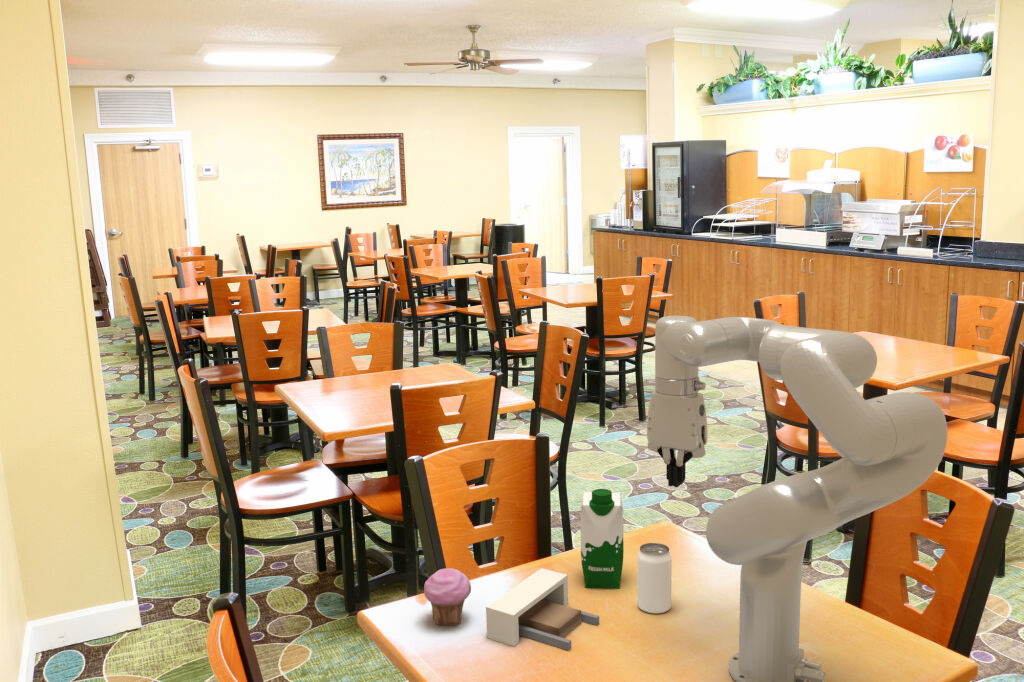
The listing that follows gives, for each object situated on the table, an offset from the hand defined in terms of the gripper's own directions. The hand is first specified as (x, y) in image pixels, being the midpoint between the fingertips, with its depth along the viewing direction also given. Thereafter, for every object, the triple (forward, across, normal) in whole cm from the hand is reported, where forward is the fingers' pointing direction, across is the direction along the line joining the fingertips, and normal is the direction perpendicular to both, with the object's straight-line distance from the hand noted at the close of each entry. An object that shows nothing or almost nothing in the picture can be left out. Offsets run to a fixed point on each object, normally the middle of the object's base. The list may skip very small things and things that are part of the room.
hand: (675, 484), depth 157 cm
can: (+27, +6, -4) cm, 28 cm away
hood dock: (+27, +20, +13) cm, 36 cm away
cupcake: (+27, +37, +21) cm, 51 cm away
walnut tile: (+28, +20, +13) cm, 37 cm away
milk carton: (+27, +20, -9) cm, 35 cm away
